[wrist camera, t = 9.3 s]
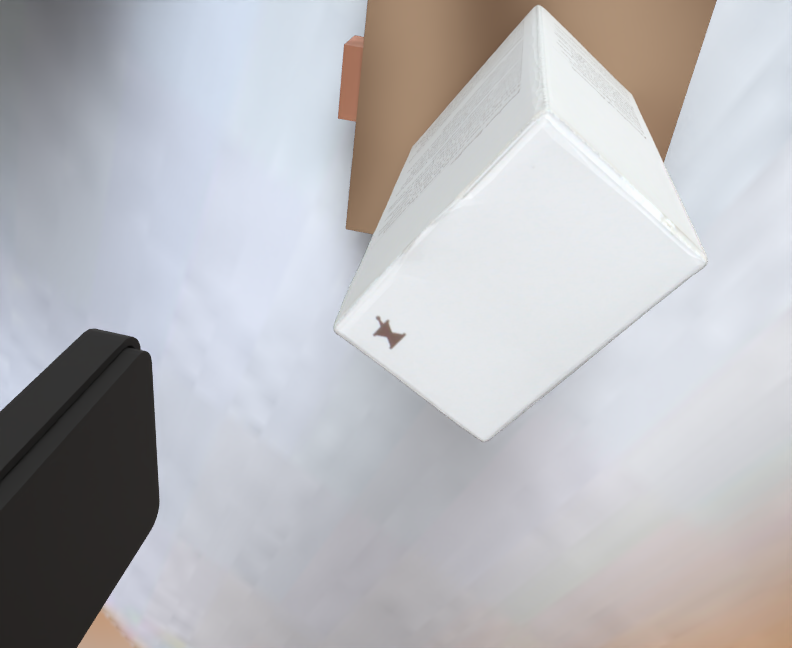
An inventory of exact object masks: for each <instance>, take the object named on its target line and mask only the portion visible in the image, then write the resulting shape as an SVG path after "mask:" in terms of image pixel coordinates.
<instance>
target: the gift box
mask: <svg viewBox="0 0 792 648" xmlns="http://www.w3.org/2000/svg"><path fill="white" fill-rule="evenodd" d="M716 1H717V0H368V3H367V14H366V24H365V34H364V37H361V36H354V37H352V38H351V39H350V40H349V41H348V42H347V43H346V44H344V52H343V64H342V76H341V88H340V100H339V112H338V119H344V120H350V121H355V122H356V127H355V138H354V148H353V158H352V169H351V179H350V190H349V200H348V210H347V221H346V229H348V230H354V231H359V232H364V233H370V234H374V232H375V230H376V228H377V226H378V223H379V221H380V219H381V217H382V214H383V212H384V210H385V208H386V206H387V203H388V201H389V199H390V196H391V194H392V192H393V189H394V187H395V184H396V182H397V180H398V178H399V176H400V173H401V171H402V169H403V167H404V165H405V162H406V160H407V158H408V156H409V153H410V151H411V149H412V147H413V145H414V144H415V143H416V142H417V141H418V140H419V139H420V137H421V136H422V135H423V134H424V133H425V132H426V131H427V129H428V128H429V127H430V126H431V125H432V124H433V122H434V121H435V120H436V119H437V118H438V117H439V116H440V114H441V113H442V112H443V111H444V110H445V109H446V107H447V106H448V105H449V104H450V103H451V102H452V100H453V99H454V98H455V97H456V96H457V95H458V94H459V92H460V91H461V90H462V89H463V88H464V87H465V85H466V84H467V83H468V82H469V81H470V80H471V79H472V77H473V76H474V75H475V74H476V73H477V72H478V71H479V69H480V68H481V67H482V66H483V65H484V64H485V63H486V61H487V60H488V59H489V58H490V57H491V56H492V54H493V53H494V52H495V51H496V50H497V49H498V48H499V46H500V45H501V44H502V43H503V42H504V41H505V40H506V38H507V37H508V36H509V35H510V34H511V33H512V32H513V30H514V29H515V28H516V27H517V26H518V25H519V24H520V22H521V21H522V20H523V19H524V18H525V17H526V16H527V14H528V13H529V12H530V11H531V10H532V9H533V8H534V7H535V6H537V5H540V6H542V7H543V8H545V9H546V10H547V11H548V12H549V13H550V14H551V15H552V16H553V17H554V18H555V19H556V20H557V21H558V22H559V23H560V24H561V25H562V26H563V27H564V28H565V29H566V30H567V31H568V32H569V33H570V34H571V35H572V36H573V37H574V38H575V39H576V40H577V41H578V42H579V43H580V44H581V45H582V46H583V47H584V48H585V49H586V50H587V51H588V52H589V53H590V54H591V55H592V56H593V57H594V58H595V59H596V60H597V61H598V62H599V63H600V64H601V65H602V66H603V67H604V68H605V69H606V70H607V71H608V72H609V73H610V74H611V75H612V76H613V77H614V78H615V79H616V80H617V81H618V82H619V83H620V84H621V85H623V86H624V87H625V88H626V89H627V90H628V91H629V92H630V93H631V94H632V95H633V98H634V100H635V102H636V104H637V106H638V109H639V111H640V113H641V115H642V117H643V120H644V122H645V124H646V126H647V128H648V130H649V132H650V134H651V137H652V139H653V141H654V143H655V146H656V148H657V150H658V152H659V154H660V156H661V159H662V161H663V163H664V160H665V157H666V154H667V151H668V148H669V145H670V141H671V138H672V135H673V132H674V129H675V126H676V123H677V120H678V117H679V114H680V111H681V108H682V105H683V102H684V99H685V96H686V93H687V89H688V86H689V83H690V80H691V77H692V74H693V71H694V68H695V65H696V62H697V59H698V56H699V53H700V50H701V47H702V44H703V41H704V38H705V34H706V31H707V28H708V25H709V22H710V19H711V16H712V13H713V10H714V7H715V4H716Z"/></svg>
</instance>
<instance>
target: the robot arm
mask: <svg viewBox="0 0 792 648" xmlns="http://www.w3.org/2000/svg"><path fill="white" fill-rule="evenodd" d="M158 509H159V484H158V466H157V448H156V430H155V412H154V394H153V376H152V361H151V356H150V354H149V353H148V352H146V351H142V350H141V348H140V344H139V342H138V340H137V339H136V338H134V337H131V336H126V335H122V334H117V333H112V332H108V331H103V330H98V329H89V330H87V331H86V332H84V333H83V334H82V335H81V336H80V337H79V338H78V339H77V340H76V341H75V342H73V343H72V344H71V345H70V346H69V347H68V348H67V349H66V350H65V351H64V352H63V353H62V354H61V355H60V356H59V357H58V358H57V359H55V360H54V361H53V362H52V363H51V364H50V365H49V366H48V367H47V368H46V369H45V370H44V371H43V372H42V373H41V374H40V375H39V376H38V377H36V378H35V379H34V380H33V381H32V382H31V383H30V384H29V385H28V386H27V387H26V388H25V389H24V390H23V391H22V392H21V393H20V394H18V395H17V396H16V397H15V398H14V399H13V400H12V401H11V402H10V403H9V404H8V405H7V406H6V407H5V408H4V409H3V410H2V411H0V648H77V647H78V645H79V643H80V642H81V640H82V639H83V637H84V635H85V634H86V632H87V630H88V629H89V627H90V626H91V624H92V623H93V621H94V619H95V618H96V616H97V615H98V613H99V612H100V610H101V609H102V607H103V605H104V604H105V602H106V601H107V599H108V597H109V596H110V594H111V593H112V591H113V589H114V588H115V586H116V585H117V583H118V582H119V580H120V578H121V577H122V575H123V574H124V572H125V570H126V569H127V567H128V566H129V564H130V563H131V561H132V559H133V558H134V556H135V555H136V553H137V551H138V550H139V548H140V547H141V545H142V544H143V542H144V540H145V539H146V537H147V536H148V534H149V532H150V531H151V529H152V527H153V525H154V523H155V520H156V517H157V514H158Z"/></svg>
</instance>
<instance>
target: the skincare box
mask: <svg viewBox="0 0 792 648" xmlns="http://www.w3.org/2000/svg"><path fill="white" fill-rule="evenodd" d="M707 262H708V261H707V256H706V253H705V251H704V249H703V247H702V245H701V242H700V240H699V238H698V236H697V234H696V231H695V229H694V227H693V225H692V223H691V221H690V219H689V217H688V214H687V212H686V210H685V208H684V206H683V204H682V201H681V199H680V196H679V195H678V193H677V191H676V188H675V186H674V184H673V182H672V180H671V178H670V176H669V174H668V172H667V170H666V167H665V165H664V163H663V161H662V159H661V156H660V154H659V152H658V150H657V148H656V146H655V143H654V141H653V139H652V137H651V134H650V132H649V130H648V128H647V126H646V124H645V122H644V120H643V117H642V115H641V113H640V111H639V109H638V106H637V104H636V102H635V100H634V98H633V95H632V94H631V93H630V92H629V91H628V90H627V89H626V88H625V87H624V86H623V85H621V84H620V83H619V82H618V81H617V80H616V79H615V78H614V77H613V76H612V75H611V74H610V73H609V72H608V71H607V70H606V69H605V68H604V67H603V66H602V65H601V64H600V63H599V62H598V61H597V60H596V59H595V58H594V57H593V56H592V55H591V54H590V53H589V52H588V51H587V50H586V49H585V48H584V47H583V46H582V45H581V44H580V43H579V42H578V41H577V40H576V39H575V38H574V37H573V36H572V35H571V34H570V33H569V32H568V31H567V30H566V29H565V28H564V27H563V26H562V25H561V24H560V23H559V22H558V21H557V20H556V19H555V18H554V17H553V16H552V15H551V14H550V13H549V12H548V11H547V10H546V9H545V8H543V7H542V6H540V5H537V6H535V7H534V8H533V9H532V10H531V11H530V12H529V13H528V14H527V16H526V17H525V18H524V19H523V20H522V21H521V22H520V24H519V25H518V26H517V27H516V28H515V29H514V30H513V32H512V33H511V34H510V35H509V36H508V37H507V38H506V40H505V41H504V42H503V43H502V44H501V45H500V46H499V48H498V49H497V50H496V51H495V52H494V53H493V54H492V56H491V57H490V58H489V59H488V60H487V61H486V63H485V64H484V65H483V66H482V67H481V68H480V69H479V71H478V72H477V73H476V74H475V75H474V76H473V77H472V79H471V80H470V81H469V82H468V83H467V84H466V85H465V87H464V88H463V89H462V90H461V91H460V92H459V94H458V95H457V96H456V97H455V98H454V99H453V100H452V102H451V103H450V104H449V105H448V106H447V107H446V109H445V110H444V111H443V112H442V113H441V114H440V116H439V117H438V118H437V119H436V120H435V121H434V122H433V124H432V125H431V126H430V127H429V128H428V129H427V131H426V132H425V133H424V134H423V135H422V136H421V137H420V139H419V140H418V141H417V142H416V143H415V144H414V145H413V147H412V149H411V151H410V153H409V156H408V158H407V160H406V162H405V165H404V167H403V169H402V171H401V173H400V176H399V178H398V180H397V182H396V184H395V187H394V189H393V192H392V194H391V196H390V199H389V201H388V203H387V206H386V208H385V210H384V212H383V214H382V217H381V219H380V221H379V223H378V226H377V228H376V230H375V232H374V234H373V236H372V239H371V241H370V243H369V245H368V248H367V250H366V252H365V255H364V257H363V259H362V261H361V264H360V266H359V268H358V270H357V272H356V274H355V276H354V278H353V280H352V282H351V284H350V286H349V289H348V291H347V294H346V296H345V298H344V301H343V303H342V306H341V308H340V311H339V313H338V316H337V318H336V321H335V323H334V332H335V333H336V334H337V335H339V336H340V337H342V338H343V339H345V340H346V341H348V342H349V343H350V344H352V345H353V346H354V347H356V348H357V349H359V350H360V351H361V352H363V353H364V354H365V355H367V356H368V357H370V358H371V359H372V360H374V361H375V362H376V363H378V364H379V365H380V366H382V367H383V368H384V369H386V370H387V371H388V372H390V373H391V374H392V375H393V376H395V377H396V378H397V379H399V380H400V381H401V382H403V383H404V384H405V385H407V386H408V387H409V388H410V389H412V390H413V391H414V392H416V393H417V394H418V395H419V396H421V397H422V398H423V399H425V400H426V401H427V402H429V403H430V404H431V405H433V406H434V407H435V408H436V409H438V410H439V411H440V412H442V413H443V414H444V415H446V416H447V417H448V418H449V419H451V420H452V421H454V422H455V423H456V424H458V425H459V426H460V427H462V428H463V429H465V430H466V431H467V432H469V433H470V434H472V435H473V436H474V437H476V438H477V439H479V440H480V441H482V442H486V441H489V440H490V439H491V438H493V437H494V436H495V435H496V434H497V433H499V432H500V431H501V430H502V429H504V428H505V427H506V426H508V425H509V424H510V423H511V422H513V421H514V420H515V419H516V418H518V417H519V416H520V415H521V414H523V413H524V412H525V411H526V410H528V409H529V408H530V407H531V406H533V405H534V404H535V403H536V402H538V401H539V400H540V399H541V398H542V397H544V396H545V395H546V394H547V393H549V392H550V391H551V390H552V389H554V388H555V387H556V386H557V385H559V384H560V383H561V382H562V381H563V380H565V379H566V378H567V377H568V376H570V375H571V374H572V373H573V372H574V371H576V370H577V369H578V368H579V367H581V366H582V365H583V364H584V363H585V362H587V361H588V360H589V359H590V358H591V357H593V356H594V355H595V354H596V353H598V352H599V351H600V350H601V349H602V348H604V347H605V346H606V345H607V344H608V343H610V342H611V341H612V340H613V339H615V338H616V337H617V336H618V335H619V334H621V333H622V332H623V331H624V330H626V329H627V328H628V327H629V326H631V325H632V324H633V323H634V322H635V321H637V320H638V319H639V318H640V317H642V316H643V315H644V314H645V313H647V312H648V311H649V310H650V309H651V308H653V307H654V306H655V305H656V304H658V303H659V302H660V301H661V300H663V299H664V298H665V297H666V296H668V295H669V294H670V293H671V292H673V291H674V290H675V289H677V288H678V287H679V286H680V285H682V284H683V283H684V282H685V281H686V280H688V279H689V278H690V277H691V276H693V275H694V274H696V273H697V272H699V271H700V270H701V269H703V268H704V267H705V266H706V265H707Z"/></svg>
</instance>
